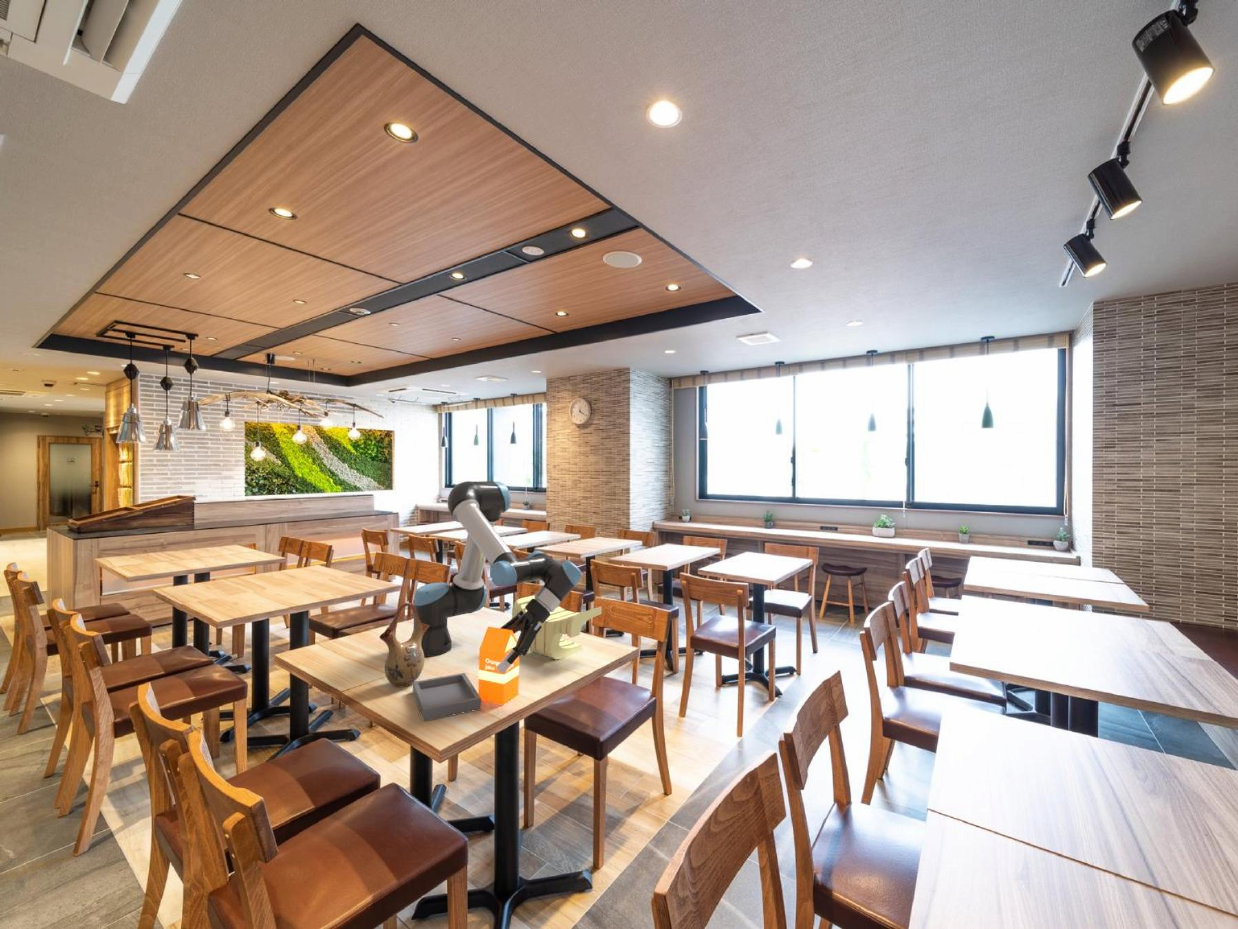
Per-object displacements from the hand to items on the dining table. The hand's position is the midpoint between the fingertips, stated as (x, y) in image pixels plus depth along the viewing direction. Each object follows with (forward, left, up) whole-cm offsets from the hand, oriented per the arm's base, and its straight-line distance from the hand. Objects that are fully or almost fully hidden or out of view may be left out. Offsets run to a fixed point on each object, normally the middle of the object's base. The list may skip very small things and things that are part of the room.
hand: (492, 663), depth 147 cm
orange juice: (0, +2, -10) cm, 11 cm away
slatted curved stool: (-28, +31, -10) cm, 43 cm away
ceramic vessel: (-22, -21, -10) cm, 32 cm away
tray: (-5, -12, -10) cm, 16 cm away
